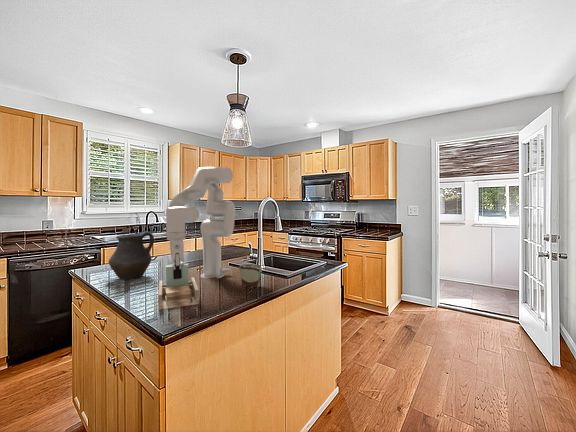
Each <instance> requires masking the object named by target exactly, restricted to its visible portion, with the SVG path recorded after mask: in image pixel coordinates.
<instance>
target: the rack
mask: <svg viewBox="0 0 576 432" xmlns="http://www.w3.org/2000/svg"><path fill="white" fill-rule="evenodd" d="M158 282H159V283H158V294H157V297H158V310H166V309H171V308H179V307H185V306H187V307H188V306H193V305H199V304H200V299H199V297H200V293H199V292H200V290H199V288H198V284H197V282H196V280H195V277H194V276H192V277H190V281H189V284H188V285H189V288H190V289H191V302H186V303H180V304H173V305H167V306H166V301H165V296H166V292H165V288H172V287H179V286H171V287H167V285H166V283H165V284H163V280H159V281H158ZM180 286H187V285H180Z"/></svg>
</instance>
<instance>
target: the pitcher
mask: <svg viewBox="0 0 576 432" xmlns="http://www.w3.org/2000/svg"><path fill="white" fill-rule="evenodd" d="M145 237H149V244H148V246H146V247H145V245H144V241H143V240H144V238H145ZM154 237H155V236H154V235H153V233H151V232H149V231H146V230H145V231H142V232H140V233H130V234H129V233H128V234H119V235H118V234H117V235H116V237H115V238H116V239H117V241H118V243H117V246H116V249H115V250H114V252H113V253H112V255H111V256H110V257H109V259H108V265H109V267H110V268H111V270H112V271H113V273H114V274H115V275H116V276H117V278H118V279H120V280H135V279H139V278H142V277H143V276H144V274H145V273H146V271H147V270H148V268H149V266H150V264H151V263H152V255H151V253H150V252H151V250H152V248H153V246H154V243H155V238H154Z"/></svg>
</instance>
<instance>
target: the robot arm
mask: <svg viewBox="0 0 576 432" xmlns="http://www.w3.org/2000/svg"><path fill="white" fill-rule="evenodd" d="M233 179H234V172H233V170H232V169H231V168H229V167H226V166H225V167H224V166H202V167H198V168H197V169H196V170H195V172H194V174H193V176H192V179H191V180H190V183H189V185H188V187H186V188H184V189H183V190H181V191H180V192H179V193H177V194H176V195H175V196H173V198H172V199H171V201H170V203H168V204H169V205H168V206H167V208H166V210H165V217H166V218H165V221H166V223H165V224H166V225H165V226H166V240H167V241H169V248H170V249H169V250H170V258H171V263H173V265H174V270H173V274H174V279H181V278H182V273H181V264H182V263H184V262H185V251H184V250H185V249H184V240H186V238H187V237H186V223H187V224H190V223H191V224H192V223H195V222H196V221H197V220H199V217H200V211H199V210H198V208H197V207H195V206H191V205H187V204H189V203H192V202H194V201H197V200H200V199H202V198H203V197H205V194H206V192H207V201H206V207H205V212H206V213H205V214H206V215H207V217H209V218H208V219H206V220H203V221H202V222H201V223H200V232H201V239H202V264H203V265H202V266H203V269H202V270H203V273H201V274H200V279H210V278H216V279H218V280H219V279H221V278H223V277H225V273H230V272H231V269H230V268H223V267H222V245H221V242H220V240H219V238H229V237H231V236H232V235H233V233H234V228H235V227H234V226H235V216H236V206H235V204H234V202H233V201H232V200H227V199H225V200H224V195H225V194H224V190H223V189H222V187H221V186H220V185H219V184H230V183H231V182H233ZM211 218H212V219H211ZM213 218H214V219H213ZM215 218H216V219H215ZM217 218H220V219H217ZM221 218H223V219H221ZM181 262H182V263H181Z"/></svg>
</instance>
